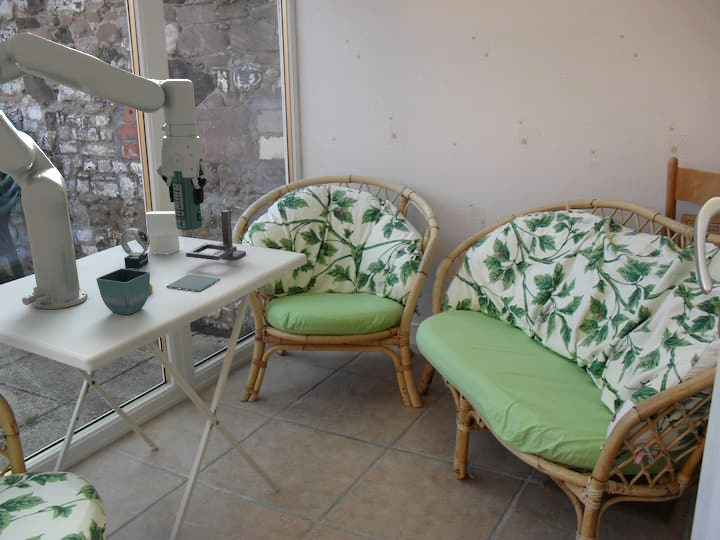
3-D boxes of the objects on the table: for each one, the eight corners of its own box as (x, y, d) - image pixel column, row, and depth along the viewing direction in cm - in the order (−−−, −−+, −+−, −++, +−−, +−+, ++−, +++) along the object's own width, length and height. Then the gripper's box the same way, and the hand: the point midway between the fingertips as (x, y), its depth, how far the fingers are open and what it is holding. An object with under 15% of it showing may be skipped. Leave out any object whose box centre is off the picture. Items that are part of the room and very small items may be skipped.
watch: (146, 269, 187) (142, 231, 183) (119, 267, 188) (115, 230, 185) (154, 263, 192) (151, 226, 189) (129, 262, 193) (125, 225, 190)
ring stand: (218, 272, 185) (215, 223, 180) (187, 268, 188) (183, 220, 184) (249, 254, 201) (247, 209, 196) (219, 251, 204) (216, 207, 199)
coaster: (199, 291, 169) (199, 290, 169) (166, 287, 172) (166, 285, 172) (219, 279, 178) (219, 278, 178) (188, 275, 181) (188, 274, 181)
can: (205, 226, 171) (201, 169, 166) (185, 231, 167) (180, 172, 162) (193, 222, 175) (188, 166, 170) (172, 226, 171) (167, 169, 166)
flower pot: (125, 302, 162) (121, 267, 160) (154, 306, 159) (151, 271, 157) (99, 314, 155) (94, 278, 152) (130, 319, 152) (125, 283, 149)
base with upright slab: (182, 246, 210) (179, 209, 206) (176, 254, 201) (173, 215, 197) (153, 246, 209) (149, 209, 205) (146, 254, 201) (142, 216, 197)
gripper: (142, 131, 162) (149, 202, 168) (203, 134, 157) (208, 208, 162) (160, 128, 169) (167, 197, 175) (219, 130, 164) (224, 201, 169)
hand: (187, 201), depth 168 cm, fingers closed on can, 6 cm apart
